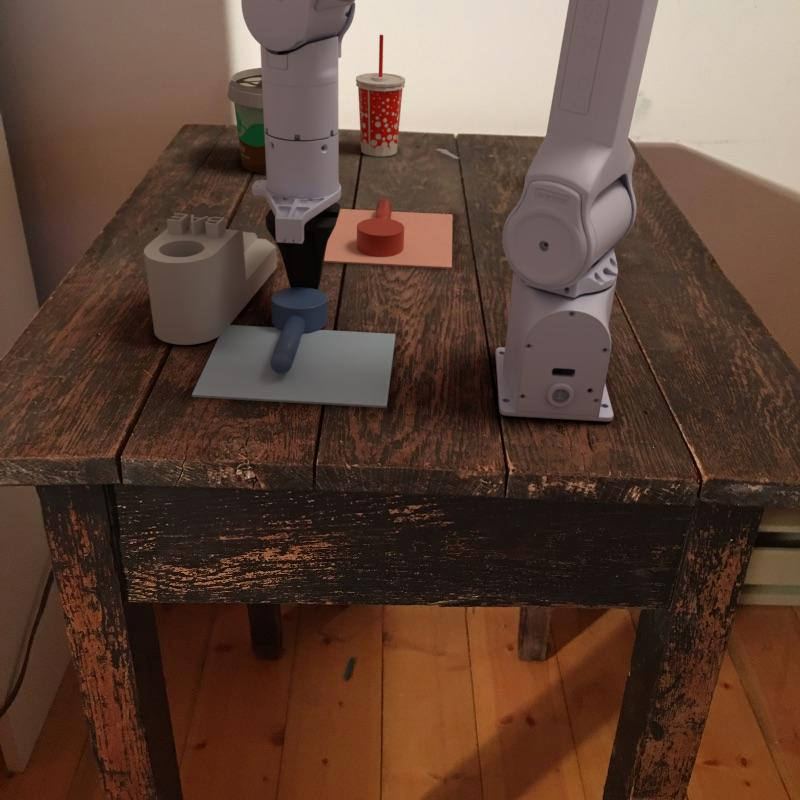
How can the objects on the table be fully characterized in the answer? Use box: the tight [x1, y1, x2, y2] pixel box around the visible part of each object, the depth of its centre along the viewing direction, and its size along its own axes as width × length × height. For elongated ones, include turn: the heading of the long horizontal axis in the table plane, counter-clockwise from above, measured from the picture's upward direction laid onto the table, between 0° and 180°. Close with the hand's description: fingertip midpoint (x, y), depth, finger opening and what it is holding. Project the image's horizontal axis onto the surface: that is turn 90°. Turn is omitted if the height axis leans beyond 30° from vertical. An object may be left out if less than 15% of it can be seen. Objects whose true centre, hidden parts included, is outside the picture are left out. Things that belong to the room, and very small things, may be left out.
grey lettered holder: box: [143, 212, 278, 346], centre depth 77 cm, size 6×18×8 cm, turn 168°
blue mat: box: [191, 324, 397, 409], centre depth 70 cm, size 11×14×1 cm
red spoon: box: [357, 198, 404, 257], centre depth 92 cm, size 12×5×2 cm, turn 178°
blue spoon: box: [270, 287, 329, 374], centre depth 72 cm, size 12×5×2 cm, turn 177°
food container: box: [227, 67, 266, 175], centre depth 108 cm, size 12×6×10 cm, turn 25°
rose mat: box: [324, 208, 454, 270], centre depth 92 cm, size 14×14×1 cm
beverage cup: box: [355, 34, 406, 157], centre depth 113 cm, size 6×6×14 cm
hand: (305, 291), depth 78 cm, fingers closed
